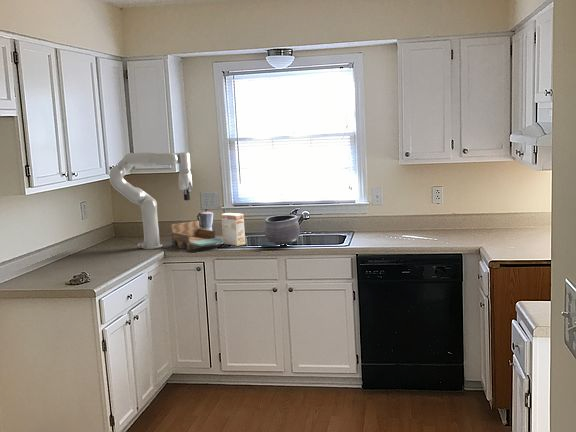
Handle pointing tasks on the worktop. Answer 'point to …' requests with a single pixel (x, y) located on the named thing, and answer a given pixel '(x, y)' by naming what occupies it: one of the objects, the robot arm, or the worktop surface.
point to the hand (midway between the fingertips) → (187, 200)
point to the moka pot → (206, 220)
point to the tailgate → (207, 242)
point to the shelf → (189, 234)
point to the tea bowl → (282, 229)
